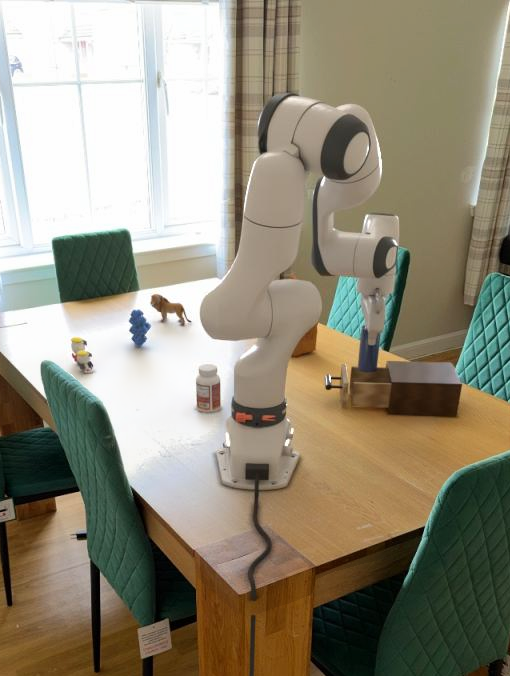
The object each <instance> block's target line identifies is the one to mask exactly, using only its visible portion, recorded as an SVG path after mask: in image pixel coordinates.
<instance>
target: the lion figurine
mask: <svg viewBox="0 0 510 676" xmlns="http://www.w3.org/2000/svg"><path fill="white" fill-rule="evenodd" d="M150 306H151V307H152V308H153V309H155V310H156V312H158V313H160V316H161V319H160V322H161V323H164V322H165V321H166V320H167V319H168V314H171V315H173V314H175V315H176V316H177V317H178V318H179V319H178V322H180V325H181V326H184V325H185V324H186V321H187V322H188V323H192V320H190V319H188V317H187V313H186V310H185V307H184V306H183V304H182V303H180V302H171V301H169V300H168V299H167V297H164V296H163V295H161V294H159V293H154V294H152V295H151V298H150ZM183 315H184V316H183ZM185 320H186V321H185Z"/></svg>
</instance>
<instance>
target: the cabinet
mask: <svg viewBox="0 0 510 676" xmlns="http://www.w3.org/2000/svg"><path fill="white" fill-rule="evenodd" d="M385 367H387V369H388V373H389V376H390V380H391V392H390V400H389V408H386V412H387V415H389V416H412V417H413V416H415V417H444V418H445V417H447V418H449V417H450V418H457V416H458V410H459V405H460V398H461V394H462V389H463V388H462V387H463V382H462V381H461V380H462V379H460V376H459V374H458V373H457V370H456V368H455V366H454V364H453V362H443V361H442V362H441V361H437V362H436V361H407V360H404V361H402V360H386V362H385Z"/></svg>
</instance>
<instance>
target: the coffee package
mask: <svg viewBox="0 0 510 676" xmlns="http://www.w3.org/2000/svg"><path fill="white" fill-rule="evenodd" d="M288 279H295V280H298V279H297V276H296V275H295V274H294V273H291V274H290V275H289V278H288ZM311 282H312V283H313V284H314V282H313V281H311ZM314 285H315V284H314ZM318 325H319V321H318V322H317V323H316V325H315V326H314V327H312V328H311V329H310V330H309V331H308V332H307V333H306V334H305V335H304V336H303V337H302V338H301V340H300V341H299V342H298V344H297V346H296V347H295V349H294V351H293V353H292V355H291V356H293V357H299V356H301V355H304V354H308V353H313V352H315V351H316V350H317V339H318Z"/></svg>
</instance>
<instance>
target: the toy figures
mask: <svg viewBox="0 0 510 676" xmlns="http://www.w3.org/2000/svg"><path fill="white" fill-rule="evenodd" d="M70 341H71V343H70V346H71V350H72V353H71V357H72V358H73V360H74V362H75V363H76V364H77V365H78V367H79V369H80V370H81V371H82V372H84V374H90V373H93V372H94V370H93V368H94V364H93V362H92V360H91V358H92V357H93V354H92V353H91V352H89V351H87V350H86V347H87V346H88V341H87V340H85V339H83V338H82V337H80V336H74V337H72V338H71V339H70Z"/></svg>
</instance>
